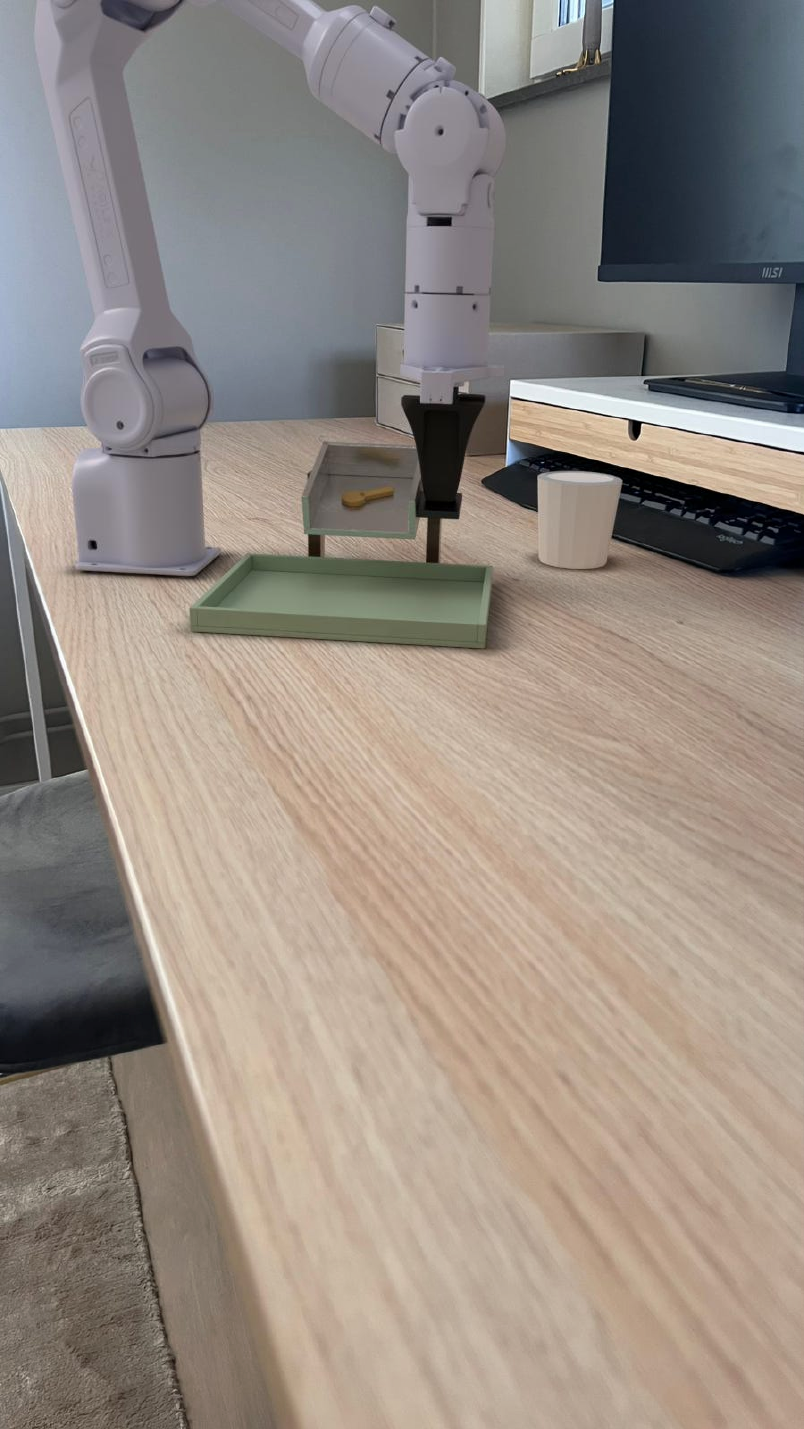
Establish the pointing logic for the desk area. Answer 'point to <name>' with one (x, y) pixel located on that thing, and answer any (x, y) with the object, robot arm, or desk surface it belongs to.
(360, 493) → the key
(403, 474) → the rectangular metal pan
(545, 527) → the white cup
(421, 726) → the desk surface
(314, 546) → the stand
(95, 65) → the robot arm
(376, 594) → the tray
